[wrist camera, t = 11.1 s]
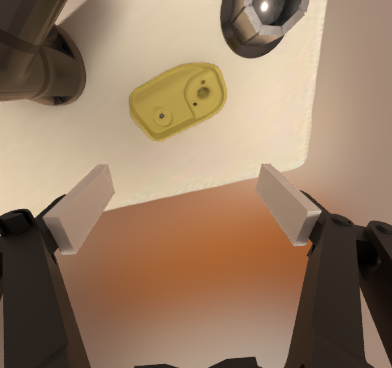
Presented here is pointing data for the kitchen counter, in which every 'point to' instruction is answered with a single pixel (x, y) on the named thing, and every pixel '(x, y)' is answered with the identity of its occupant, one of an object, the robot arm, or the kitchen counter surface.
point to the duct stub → (267, 13)
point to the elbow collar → (252, 27)
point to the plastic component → (178, 99)
